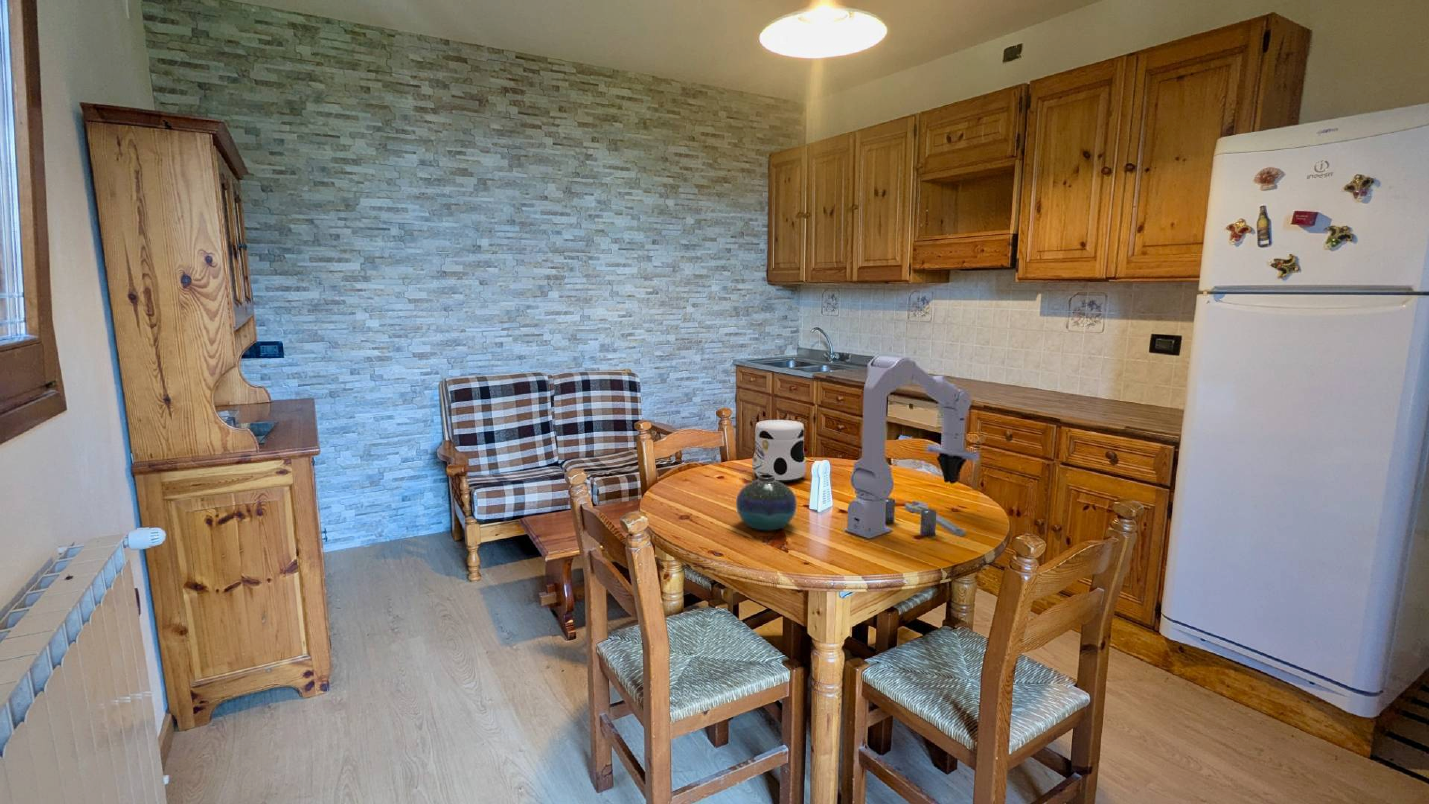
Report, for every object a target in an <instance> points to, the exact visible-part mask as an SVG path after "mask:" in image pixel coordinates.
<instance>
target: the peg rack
mask: <svg viewBox="0 0 1429 804" xmlns="http://www.w3.org/2000/svg"><path fill="white" fill-rule="evenodd" d="M895 511H896V499H895V498H892V497H888V498H887V499H886V514H885V525H893V524H895ZM936 514H937V510H935V509H933V508H932V509H931V508H929V509H922V510H921V514H920V527H919V535H920V536H922V537H926V538H931V537H933V538H934V537H935V536H936V530H937V528H936V527H937V524H936Z"/></svg>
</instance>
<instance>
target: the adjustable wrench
mask: <svg viewBox="0 0 1429 804" xmlns="http://www.w3.org/2000/svg"><path fill="white" fill-rule="evenodd" d="M904 509H905V510H906V511H907V512H908V513H915V514H918V515H921V510H922V509H930V508H929V507H928V504H927V503H926V502H923V501H919V500H912V503H908V502H905V503H904ZM936 525H937V526H939V527H941V528H943V529H945V530H946V531H948V532H949V533H951V534H952V533H953V535H954V536H957V537H964V536H965V535H966V531H965V530H964V529H963V528H961V527H960V526H957V525H956V524H954V523H952V522H951V521H949V520H947V519H946V518H944V517H943V516H940V515H939V514H937V513H936Z"/></svg>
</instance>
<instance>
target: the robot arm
mask: <svg viewBox="0 0 1429 804" xmlns="http://www.w3.org/2000/svg"><path fill="white" fill-rule="evenodd" d="M910 381H911V382H913V383H915V384H916V385H918V386H920V387H922V388H923V389H924V390H923V391H924V393H925V395H926V396H928V397H930V398H931V399H933V400H934V401H936V402H937V403H938V405H939V407H940V408H941V409H942V418H941V419H942V421H941V422H942V423H941V437H940V438H941V440H940V441H941V442H940V444H941V445H937V444H932V443H931V444H930V443H929V444H926V448H925V451H926V453H932V454H933V453H934V454H939V455H938V456H937V457H936V461H937V462H938V464H939V466H940V469H941V471H942V476H943V481H944V483H949V484H952V485H954V484H956V483H957V481H958V478H959V474H960V472H961V470H962V468H963V466H964V465H965V463H966V462H967V460H968V461H971V462H978V461H980V453H979V452H974V451H972V450H968V449H966V448H965V449H964V447H965V445H964V443H965V430H966V429H965V428H966V418H967V417H968V415H969V414H968V412H969V409H970V407H971V406H972V405H971V404H972V399H971V395H970V394H969V392H968V391H967V390H965V389H959V388H957V385H956V384H955V383H951V382H949V381H948V380H946V376H944V375H934V376H932V375H931V374H929V373H928V372H927V371H925V370H924V369H923V368H921V367H920V366H919V365H918V364H917V362H916V361H914V360H911V359H910V358H909V357H897V356H886V355H883V354H878V355H875V356H874V357H873V358H872V359H871V360H870V361H869V362H868V363H867V367H866V380H865V383H864V387H863V403H862V406H863V407H862V408H863V409H862V437H861V438H862V441H861V444H862V445H861V446H862V447H861V448H862V449H861V458H859V459H858V460H856V461H855V462H854V463H853V468H852V469H853V470H852V473H851V475H850V486H851V487H852V488H853V490H854V494H855V495H856V496H855V498H854V499H853V500H852V501H850V503H848V506H847V519H846V520H847V521H846V527H844V531H846V532H849V533H852V534H855V535H857V536H861V537H863V538H866V539H873V538H875V537H878V536H880V535H883V534H886V533H888V532H891V531H893V527H892V528H891V527H890V526H886V524H885V514H886V499H887V498H889V496H890V495H891V494H892V492H893V490H894V488H895V487H894V486H895V483H894V479H893V475H892V468H891V466H890V465H889V463H888V462H887V459H886V458H885V456H886V430H887V429H886V428H887V425H886V424H887V402H888V401H887V399H888V396H889V395H890V394H891V393H892V392H894V391H896V390H897V389H899V388H901V387H902V386H904V385H906V384H907V383H909V382H910Z"/></svg>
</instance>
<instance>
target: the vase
mask: <svg viewBox="0 0 1429 804" xmlns="http://www.w3.org/2000/svg"><path fill="white" fill-rule="evenodd" d="M735 503H736V504H735V505H736V506H735V508H736V511H737V514H738V517H739V518H740V520H741V521H742V522H743V523H744V524H745V525H747V526H748V527H750V528H752V529H755V530H759V531H765V532H766V531H776V530H777V531H778V530H780V529H782V528H785V527H786V526H787V525H788V524H790V523H791V521H792V520H793V518H794V517H795V514H796V511H797V505H798V503H797V499H796V495H795V493H794V492H793V490H792V489H791V488H790V487H789V486H787V485H786V484H784V482H779V481H777V480H775V477H774V476H773V475H770V474H762V475H759V478H758V477H757V479H756V480H753V481H751V482H749V483H748V484H747V485H744V486H743V487H742V488H741V489H740V491H739V492H738V494H737V497H736V502H735Z"/></svg>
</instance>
